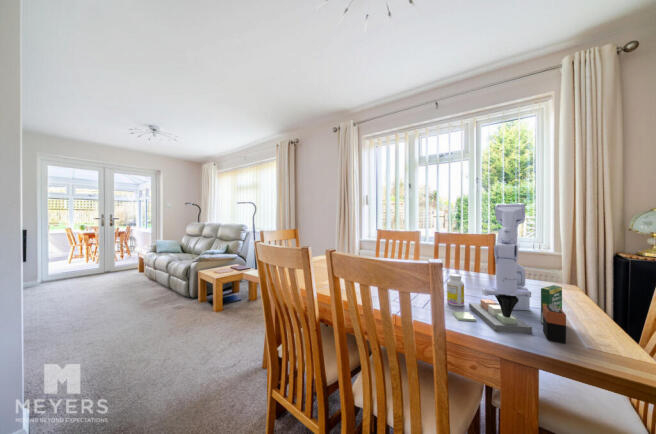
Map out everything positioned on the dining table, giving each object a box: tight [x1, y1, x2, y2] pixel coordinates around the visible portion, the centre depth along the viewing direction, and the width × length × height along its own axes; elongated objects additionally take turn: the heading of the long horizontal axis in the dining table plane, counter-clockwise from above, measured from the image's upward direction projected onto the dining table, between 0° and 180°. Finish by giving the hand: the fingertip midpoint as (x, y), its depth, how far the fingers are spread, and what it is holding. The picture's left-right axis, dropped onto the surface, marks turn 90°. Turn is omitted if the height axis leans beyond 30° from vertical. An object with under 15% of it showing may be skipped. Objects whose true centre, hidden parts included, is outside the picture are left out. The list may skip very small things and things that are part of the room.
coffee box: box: [540, 284, 563, 325], centre depth 85 cm, size 8×3×13 cm, turn 111°
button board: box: [468, 302, 533, 334], centre depth 88 cm, size 11×20×2 cm, turn 171°
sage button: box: [497, 313, 516, 324], centre depth 82 cm, size 4×4×3 cm
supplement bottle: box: [446, 273, 465, 307], centre depth 103 cm, size 7×7×13 cm
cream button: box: [488, 304, 502, 316], centre depth 88 cm, size 4×4×3 cm
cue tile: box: [452, 311, 477, 322], centre depth 90 cm, size 6×6×1 cm
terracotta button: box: [480, 298, 498, 310], centre depth 94 cm, size 4×4×3 cm
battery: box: [542, 304, 567, 345], centre depth 75 cm, size 4×7×10 cm, turn 146°
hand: (506, 316), depth 82 cm, fingers closed, pressing on sage button
